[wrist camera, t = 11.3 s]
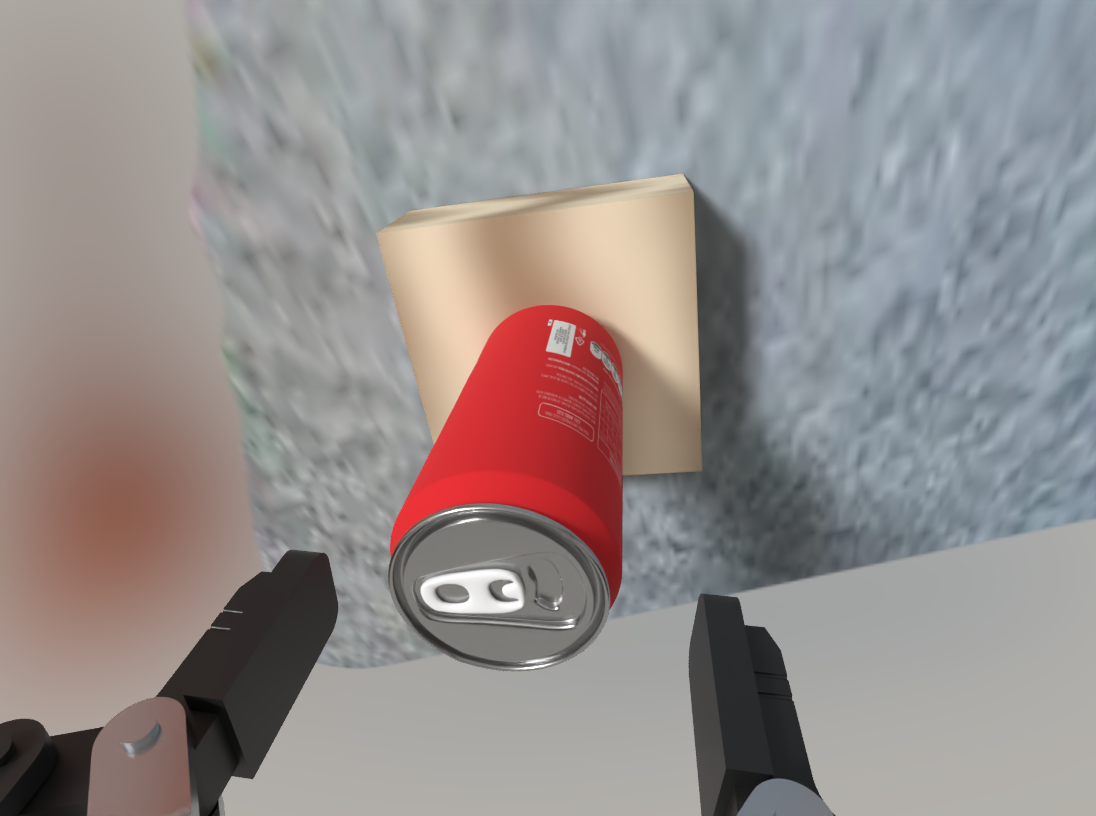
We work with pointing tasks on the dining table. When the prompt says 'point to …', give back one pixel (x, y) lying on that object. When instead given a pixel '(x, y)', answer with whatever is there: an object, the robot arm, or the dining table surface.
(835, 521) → the dining table surface
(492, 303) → the beech block
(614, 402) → the beverage can
